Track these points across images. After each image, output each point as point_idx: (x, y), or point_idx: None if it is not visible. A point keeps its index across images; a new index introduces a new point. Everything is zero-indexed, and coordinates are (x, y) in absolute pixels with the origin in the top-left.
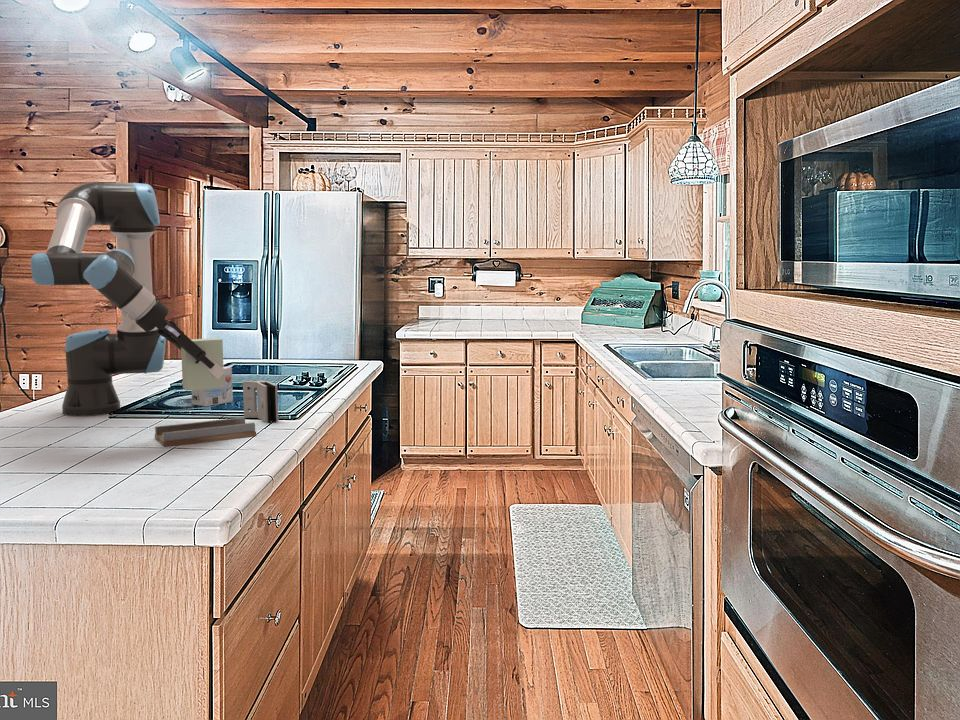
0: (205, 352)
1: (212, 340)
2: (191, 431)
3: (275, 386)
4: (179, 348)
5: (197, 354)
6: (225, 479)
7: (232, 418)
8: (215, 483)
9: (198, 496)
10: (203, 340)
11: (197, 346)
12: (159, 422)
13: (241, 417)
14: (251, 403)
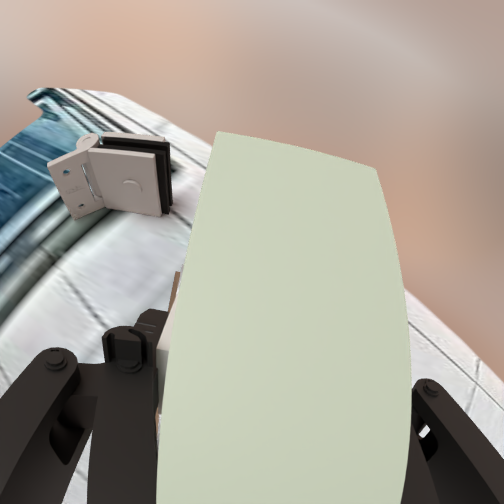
0: (434, 381)
1: (393, 253)
2: None
3: (163, 141)
4: (64, 490)
5: (430, 437)
6: (476, 407)
7: (177, 291)
8: (480, 418)
9: (496, 434)
10: (407, 356)
11: (476, 433)
12: (7, 376)
13: (181, 269)
14: (83, 193)
